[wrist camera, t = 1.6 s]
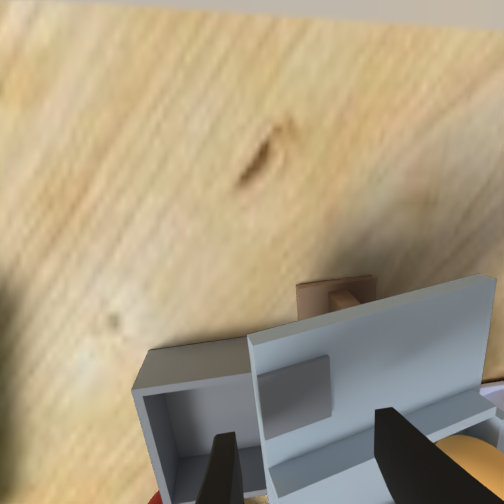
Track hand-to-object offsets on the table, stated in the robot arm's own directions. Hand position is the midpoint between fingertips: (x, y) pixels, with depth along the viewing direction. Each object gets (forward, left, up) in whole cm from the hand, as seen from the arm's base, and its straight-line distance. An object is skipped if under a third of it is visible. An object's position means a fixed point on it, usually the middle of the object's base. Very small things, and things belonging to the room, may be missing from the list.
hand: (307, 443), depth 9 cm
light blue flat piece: (-4, +3, -3) cm, 7 cm away
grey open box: (+3, +6, -9) cm, 12 cm away
